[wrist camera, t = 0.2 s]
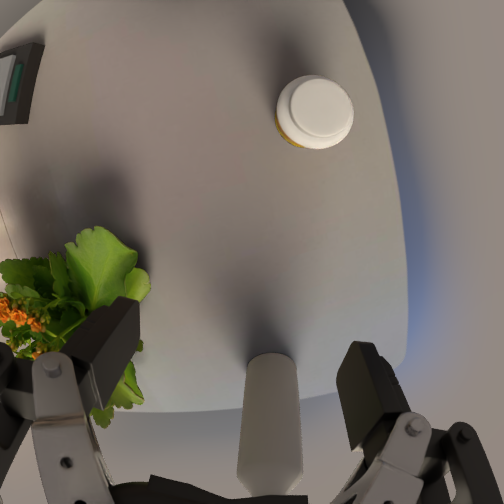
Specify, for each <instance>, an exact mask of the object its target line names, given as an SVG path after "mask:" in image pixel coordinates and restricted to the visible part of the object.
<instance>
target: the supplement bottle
mask: <svg viewBox="0 0 504 504" xmlns="http://www.w3.org/2000/svg"><path fill="white" fill-rule="evenodd" d="M353 118H354V110H353V105H352V102H351V99H350V97H349V95H348V94H347V92H346V91H345V90H344V89H343V88H342V87H341V86H340V85H339V84H338V83H336V82H335V81H333V80H331V79H329V78H327V77H324V76H319V75H306V76H302V77H299V78H296V79H295V80H293V81H291V82H290V83H289V84H288V85H286V87H285V88H284V89H283V90H282V92H281V94H280V96H279V98H278V101H277V107H276V112H275V123H276V127H277V130H278V132H279V133H280V135H281V136H282V137H283V138H284V139H285V140H286V141H287V142H289V143H290V144H292V145H294V146H297V147H302V148H312V149H323V148H328V147H331V146H334V145H335V144H337V143H339V142H340V141H341V140H343V139H344V138H345V137H346V135H347V134H348V133H349V131H350V129H351V127H352V124H353Z"/></svg>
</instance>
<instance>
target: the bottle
mask: <svg viewBox="0 0 504 504" xmlns="http://www.w3.org/2000/svg"><path fill="white" fill-rule="evenodd" d="M302 476H303V454H302V437H301V421H300V406H299V391H298V380H297V368H296V365H295V363H294V362H293V361H292V360H291V359H290V358H289V357H287V356H285V355H282V354H279V353H265V354H261V355H259V356H257V357H255V358H253V359H252V360H251V361H250V362H249V364H248V366H247V372H246V381H245V390H244V400H243V411H242V423H241V432H240V443H239V453H238V464H237V478H238V479H239V481H240V483H241V484H242V485H243V486H244V487H245V488H246V490H248V492H249V493H250V494H251V495H252V497H258V496H265V495H288V494H289V493H290V492H291V491H292V489H293V488H294V487H295V486H296V485H297V484H298V483H299V482H300V480H301V479H302Z"/></svg>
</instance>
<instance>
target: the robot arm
mask: <svg viewBox="0 0 504 504" xmlns="http://www.w3.org/2000/svg"><path fill="white" fill-rule="evenodd" d="M139 339H140V308H139V301H138V300H134V299H130V298H127V297H123V296H118V297H117V298H116V299H115V300H114V301H113V303H112V304H111V305H110V306H106V305H103V306H101V307H99V308H97V309H96V310H94V311H92V313H91V314H90V315H89V316H88V317H87V318H86V321H84V322H83V323H82V324H81V325H80V328H79V327H78V329H77V330H76V331H75V332H74V333H73V335H72V336H71V337H70V338H69V339H68V341H67V342H66V343H65V344H64V345H63V347H62V348H61V349H60V350H59V351H58V352H46V353H43V354H41V355H40V356H38V357H37V358H36V359H35V360H27V359H22V358H16V357H14V354H13V352H12V349H11V348H10V346H9V345H7V344H5V343H2V342H0V488H1V486H2V484H3V481H4V479H5V477H6V474H7V472H8V470H9V468H10V466H11V464H12V462H13V459H14V457H15V455H16V453H17V451H18V449H19V447H20V445H21V443H22V441H23V439H24V437H25V435H26V434H27V431H28V430H29V428H30V426H31V430H32V437H33V443H34V449H35V454H36V459H37V463H38V468H39V472H40V477H41V480H42V485H43V488H44V492H45V495H46V499H47V502H48V504H308V496H307V495H302V496H301V495H265V496H258V497H250V498H241V499H227V498H224V497H221V496H218V495H215V494H213V493H210V492H208V491H205V490H202V489H200V488H198V487H195V486H193V485H191V484H188V483H183V482H178V481H174V480H170V479H166V478H162V477H158V476H155V475H150V479H149V482H129V483H122V484H118V485H115V484H114V481H113V479H112V477H111V475H110V472H109V470H108V468H107V466H106V463H105V461H104V458H103V456H102V453H101V450H100V447H99V444H98V441H97V438H96V435H95V432H94V429H93V426H92V423H91V419H90V416H89V414H90V412H91V410H92V408H93V407H94V408H97V409H99V410H102V411H104V409H105V407H106V405H107V403H108V401H109V399H110V397H111V395H112V393H113V391H114V390H115V388H116V386H117V384H118V382H119V380H120V378H121V376H122V375H123V373H124V371H125V369H126V367H127V365H128V363H129V362H130V360H131V358H132V356H133V354H134V353H135V351H136V349H137V347H138V343H139ZM336 385H337V389H338V393H339V398H340V402H341V406H342V410H343V415H344V419H345V424H346V428H347V432H348V438H349V442H350V447H351V452H363V453H364V457H363V458H362V459H361V460H360V462H359V464H358V465H357V467H356V468H355V470H354V472H353V473H352V475H351V476H350V478H349V479H348V481H347V482H346V484H345V485H344V487H343V488H342V490H341V491H340V493H339V494H338V495H337V496H336V498H335V499H334V500H333V501H332V502H331V503H330V504H503V501H502V497H501V494H500V491H499V488H498V485H497V483H496V480H495V477H494V474H493V472H492V469H491V466H490V464H489V461H488V459H487V456H486V454H485V451H484V449H483V447H482V444H481V442H480V440H479V437H478V435H477V433H476V431H475V430H474V429H473V427H471V426H470V425H469V424H467V423H464V422H457V423H454V424H453V425H452V426H451V427H450V428H449V430H448V431H444V430H439V429H434V428H431V426H430V424H429V422H428V421H427V420H426V418H425V417H423V416H422V415H420V414H418V413H415V412H411V410H410V407H409V405H408V402H407V400H406V398H405V396H404V394H403V391H402V389H401V387H400V385H399V382H398V380H397V378H396V377H395V373H394V371H393V369H392V367H391V365H390V364H389V363H388V362H387V361H386V360H385V359H384V358H383V356H379V354H378V352H377V350H376V347H375V345H374V344H373V343H370V342H361V341H353V342H352V344H351V345H350V347H349V349H348V351H347V354H346V356H345V358H344V360H343V362H342V364H341V366H340V368H339V370H338V373H337V378H336ZM449 471H451V474H452V477H453V481H454V484H455V488H456V496H455V498H454V500H453V501H452V502H451V501H450V497H449V493H448V489H447V486H446V483H445V479H444V475H446V474H447V473H448V472H449ZM0 504H3V501H2V498H1V496H0Z"/></svg>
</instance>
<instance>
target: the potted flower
mask: <svg viewBox="0 0 504 504" xmlns="http://www.w3.org/2000/svg"><path fill="white" fill-rule="evenodd" d="M76 243H77V246H76V245H75V243H74V242H67V243H66V244H65V247H66V249H67V251H66V262H65V260H64V259H63V257H62V255H61V254H60V253H59V252H57V257H56V255H55V253H54V254H53V253H52V252H51V251H49V253H50V254H49V253H48V255H49V260H48V258H44V259H42V257H39V258H38V259H37V258H36V257H31V258H30V260H29V259H25V258H24V259H22V260H20V259H13V260H11V259H6V260H5V261H2V262H1V263H0V273H1V274H3V275H2V279H3V280H4V281H5V282H6V283H8V284H7V285H6V288H5V291H6V292H7V293H3V292H0V327H2V326H3V327H2V330H1V332H2V335H3V336H4V337H7V338H10V340H6V344H7V345H9V346H10V348H11V349H12V352H14V353H16V354H17V355H16V358H22V359H27V360H35V359H36V358H37V357H38V356H40V355H41V354H43V353H46V352H58V351H59V350H60V349H61V348H62V347H63V345H64V344H65V343H66V342H67V341H68V339H69V338H70V337H71V336H72V335H73V333H74V332H75V331H76V330H77V329H78V327H79V328H80V325H81V324H82V323H83V322H84V321H86V318H87V317H88V316H89V315H90V314H91V313H92V311H94V310H96V309H97V308H99V307H101V306H103V305H106V306H110V305H111V304H112V303H113V301H114V300H115V299H116V298H117V297H118V296H123V297H127V298H130V299H134V300H138V301H139V303H140V302H141V301H142V300H143V299H144V297H145V296H146V295H147V294H148V293H149V291H150V289H151V288H150V287H151V284H150V283H149V276H148V274H147V272H146V271H145V270H143V269H141V268H136V267H134V266H135V264H136V263H137V259H138V253H137V251H136V250H133V249H131V248H129V247H127V246H126V245H125V244H123V243H122V242H121V241H120V240H119V239H118V238H117V237H116V236H115V235H114V234H113V233H112V232H110V231H109V230H107V229H105V228H104V227H102V226H95V227H94V230H92V229H91V228H85V229H84V230H82V231H81V233H78V234H77V236H76ZM67 267H68V268H67ZM17 334H18V335H17ZM16 335H17V336H16ZM15 336H16V337H15ZM31 337H32V339H33V340H35V341H34V342H32V343H31V339H30V338H31ZM26 343H28V344H29V346H28V347H26V349H21V350H20V352H16V351H17V349H18V347H19V346H20V347H21V346H22V344H24V345H25V346H26ZM142 343H143V342H142V340H139V343H138V347H137V349H136V351H139V352H142V350H143V344H144V343H143V344H142ZM34 347H35V348H34ZM135 373H136V371H135V368H134V364H133V363H132V362H131V360H130V362H129V363H128V365H127V367H126V369H125V371H124V373H123V375H122V376H121V378H120V380H119V382H118V384H117V386H116V388H115V390H114V391H113V393H112V395H111V397H110V399H109V401H108V403H107V405H106V407H105V409H104V411H102V410H99V409H97V408H94V407H93V408H92V410H91V412H90V414H89V416H92V415H93V418H94V420H95V422H96V425H100V426H101V427H102V428H104V429H105V428H107V427H108V425H110V423H111V422H110V419H113V418H114V408H113V406H114V405H115V406H116V407H117V408H121V406H123V408H124V409H127V410H128V409H132V407H133V404H132V403H135V404H137V405H141V404H143V402H144V398H143V395H142V392H141V391H140V389H139V387H138V385H137V381H136V376H135Z"/></svg>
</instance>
